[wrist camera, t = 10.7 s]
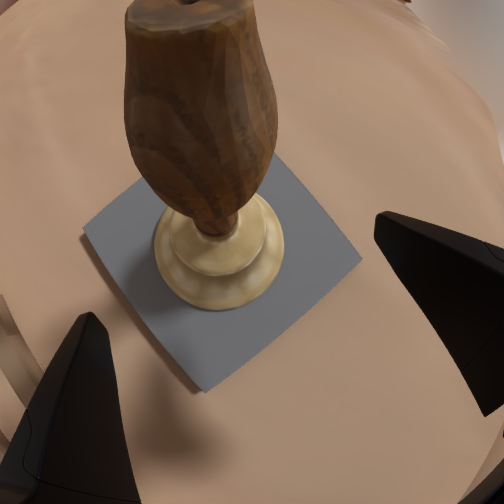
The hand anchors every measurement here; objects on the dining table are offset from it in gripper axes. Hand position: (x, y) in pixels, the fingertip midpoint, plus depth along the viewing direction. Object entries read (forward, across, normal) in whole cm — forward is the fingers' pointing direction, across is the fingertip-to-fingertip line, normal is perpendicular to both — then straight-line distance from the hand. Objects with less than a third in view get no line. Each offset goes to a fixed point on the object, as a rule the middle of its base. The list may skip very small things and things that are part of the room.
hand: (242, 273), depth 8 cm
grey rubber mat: (+10, 0, +6) cm, 11 cm away
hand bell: (+9, 0, +5) cm, 10 cm away
